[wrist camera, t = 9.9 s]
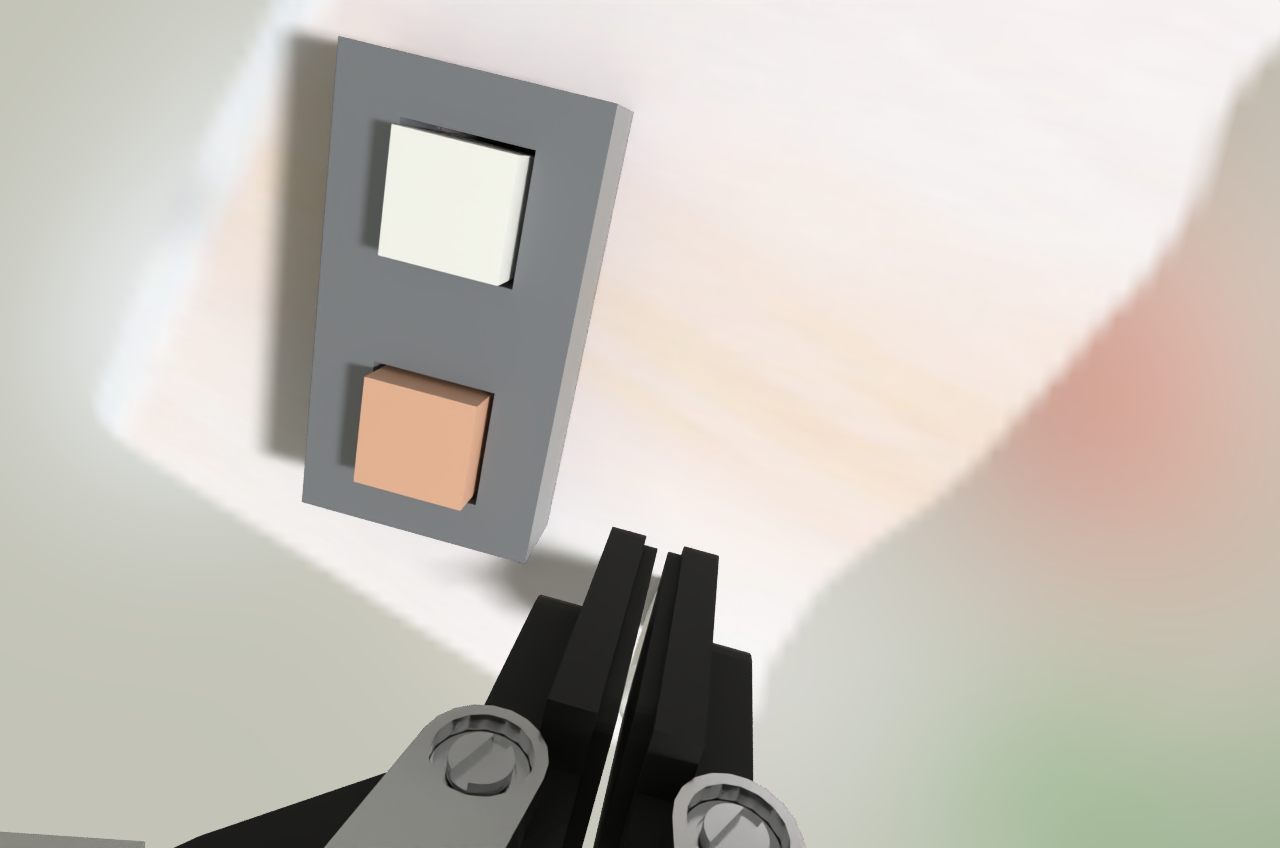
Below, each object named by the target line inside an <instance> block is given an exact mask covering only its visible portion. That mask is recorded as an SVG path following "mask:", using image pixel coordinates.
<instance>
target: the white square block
mask: <svg viewBox="0 0 1280 848" xmlns="http://www.w3.org/2000/svg"><path fill="white" fill-rule="evenodd" d="M534 159H535V155H533V154H529V153H525V152H521V151H517V150H513V149H509V148H505V147H501V146H497V145H493V144H489V143H485V142H481V141H477V140H472V139H468V138H464V137H460V136H456V135H452V134H448V133H444V132H440V131H436V130H432V129H426V128H419V127H411V126H404V125H397V124H392V125H391V135H390V144H389V154H388V163H387V173H386V182H385V192H384V202H383V211H382V221H381V230H380V240H379V249H378V255H379V256H383V257H387V258H391V259H395V260H399V261H403V262H406V263H410V264H414V265H418V266H422V267H426V268H430V269H433V270H437V271H441V272H445V273H449V274H453V275H457V276H461V277H464V278H468V279H472V280H476V281H480V282H484V283H488V284H492V285H495V286H498V285H501V284H503V283H505V282H507V281H509V280H511V279H514V277H515V271H516V265H517V259H518V253H519V247H520V241H521V236H522V230H523V224H524V218H525V212H526V206H527V200H528V194H529V188H530V183H531V177H532V171H533V165H534Z"/></svg>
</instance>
